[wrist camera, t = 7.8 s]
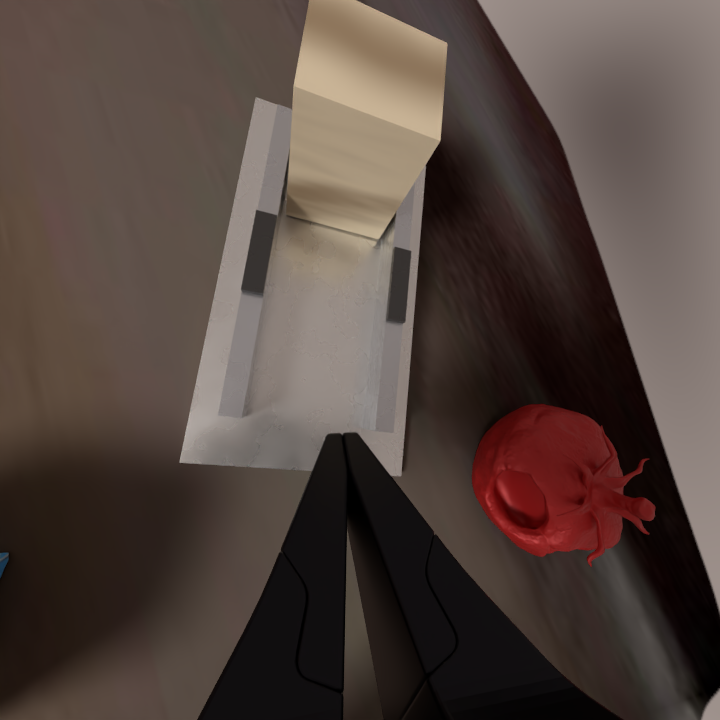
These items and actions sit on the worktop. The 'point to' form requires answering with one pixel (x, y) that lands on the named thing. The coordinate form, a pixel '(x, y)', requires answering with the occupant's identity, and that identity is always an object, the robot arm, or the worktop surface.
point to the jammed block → (361, 115)
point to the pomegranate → (554, 482)
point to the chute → (303, 325)
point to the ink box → (3, 561)
